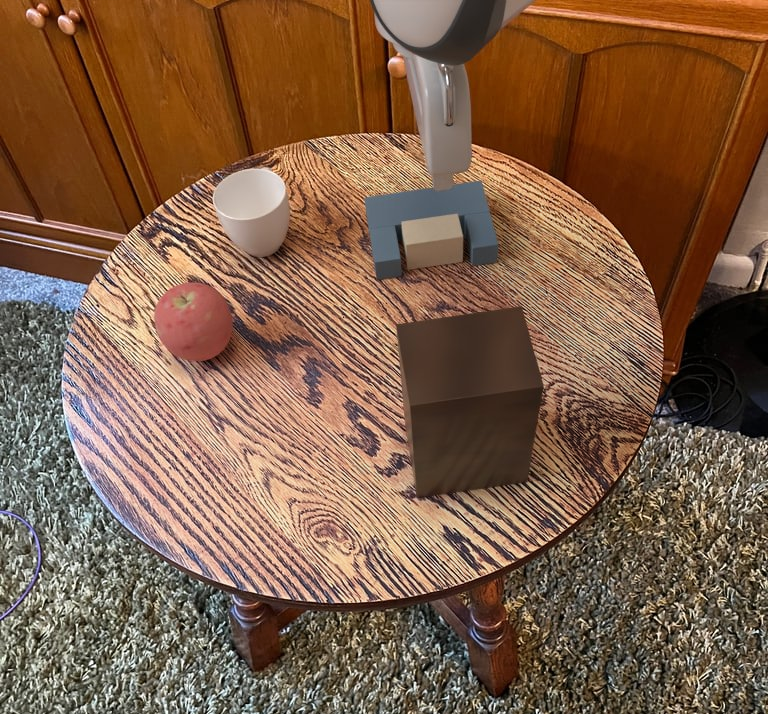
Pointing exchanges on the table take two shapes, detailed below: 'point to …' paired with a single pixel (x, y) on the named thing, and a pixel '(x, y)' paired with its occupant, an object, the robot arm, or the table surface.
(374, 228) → the u-shaped bracket
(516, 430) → the block
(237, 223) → the cup
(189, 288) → the apple
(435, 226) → the beige block
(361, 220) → the table surface
